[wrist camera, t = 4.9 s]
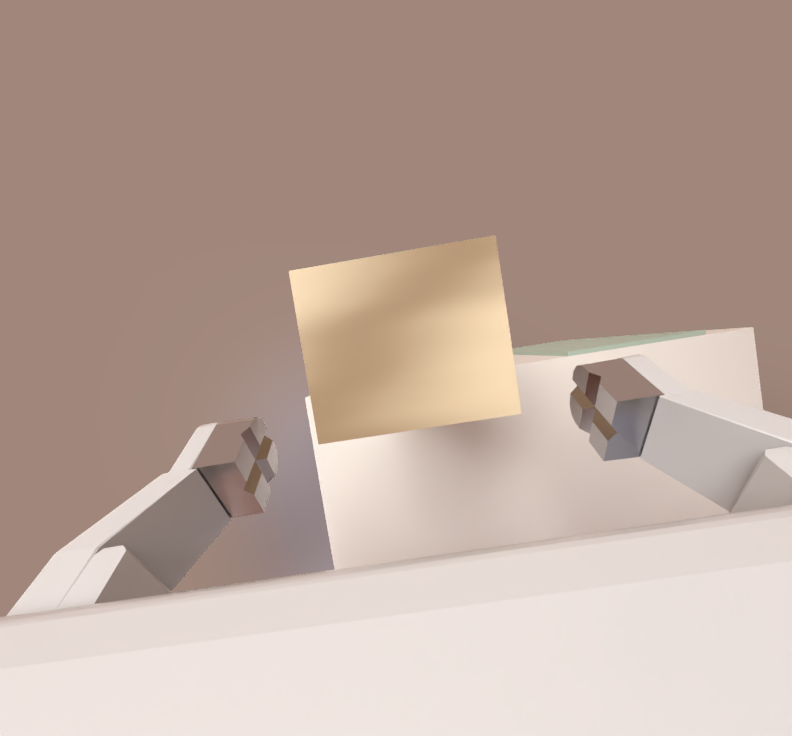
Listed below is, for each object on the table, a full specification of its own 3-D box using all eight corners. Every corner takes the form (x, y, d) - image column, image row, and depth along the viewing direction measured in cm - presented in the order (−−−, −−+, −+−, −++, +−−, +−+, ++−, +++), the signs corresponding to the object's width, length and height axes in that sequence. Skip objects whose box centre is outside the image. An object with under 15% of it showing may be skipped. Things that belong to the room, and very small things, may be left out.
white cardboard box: (630, 637, 30) (588, 336, 29) (819, 881, 16) (752, 322, 15) (401, 665, 31) (352, 374, 30) (394, 920, 17) (304, 393, 16)
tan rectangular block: (431, 363, 30) (425, 328, 30) (522, 413, 6) (495, 235, 6) (390, 370, 30) (384, 335, 30) (318, 444, 6) (288, 271, 6)
